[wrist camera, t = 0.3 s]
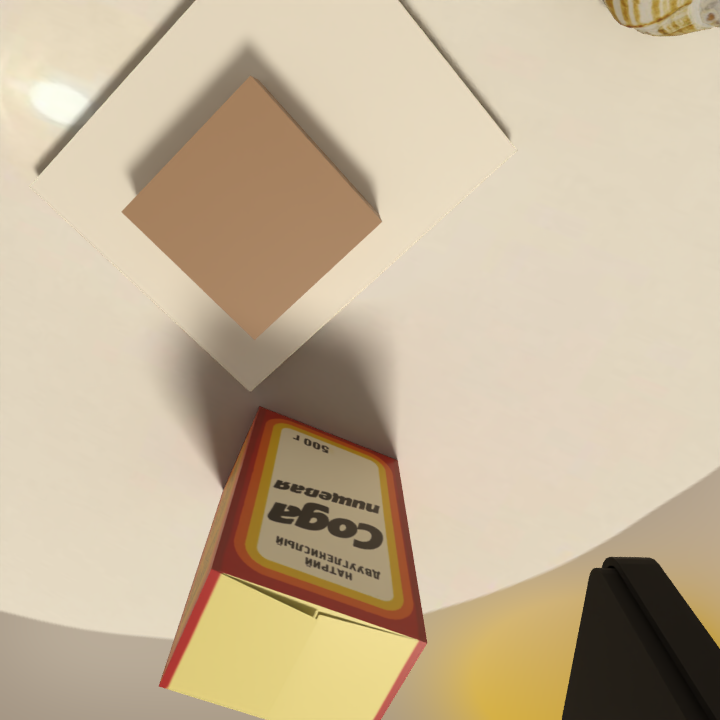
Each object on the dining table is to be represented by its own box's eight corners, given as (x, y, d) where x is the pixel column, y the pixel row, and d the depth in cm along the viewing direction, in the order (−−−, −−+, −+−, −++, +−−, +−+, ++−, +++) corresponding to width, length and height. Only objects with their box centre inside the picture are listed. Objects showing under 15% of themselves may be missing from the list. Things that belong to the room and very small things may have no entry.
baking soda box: (397, 460, 42) (428, 649, 27) (356, 538, 44) (362, 757, 29) (259, 406, 40) (209, 575, 25) (223, 490, 42) (156, 693, 27)
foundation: (304, -110, 31) (298, -146, 27) (510, 149, 35) (533, 152, 31) (41, 184, 35) (0, 192, 31) (253, 382, 39) (242, 413, 35)
